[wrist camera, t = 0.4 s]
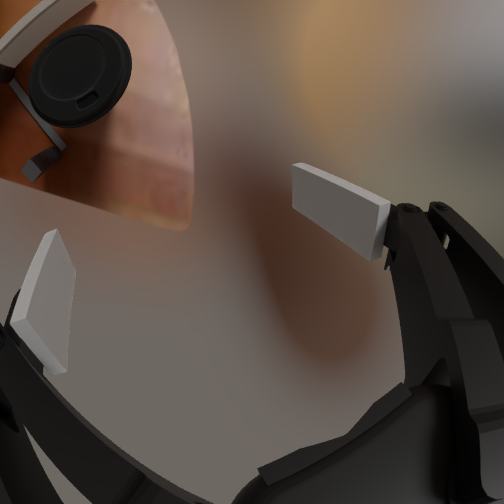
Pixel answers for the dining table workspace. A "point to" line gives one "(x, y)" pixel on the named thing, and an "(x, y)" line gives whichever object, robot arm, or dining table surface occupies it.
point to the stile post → (41, 163)
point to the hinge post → (6, 73)
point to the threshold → (42, 123)
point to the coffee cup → (80, 76)
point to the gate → (36, 28)
